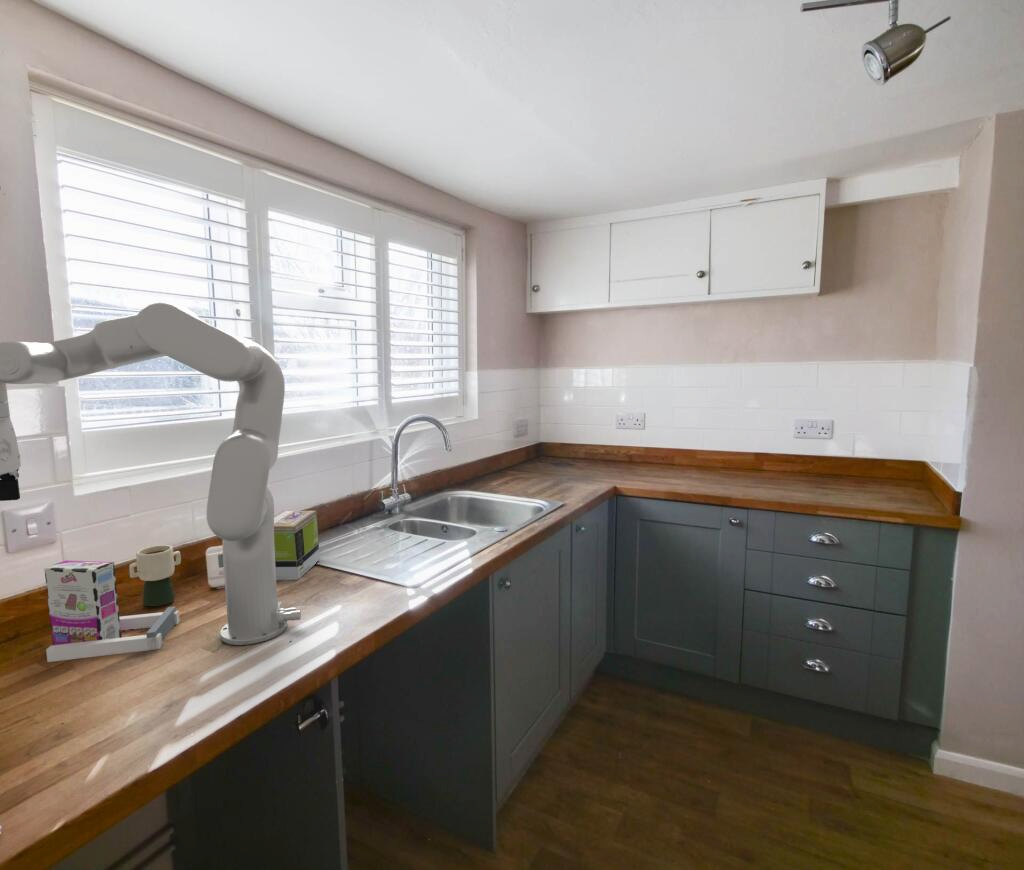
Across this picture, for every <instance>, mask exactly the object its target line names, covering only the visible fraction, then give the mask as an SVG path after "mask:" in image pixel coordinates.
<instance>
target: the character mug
mask: <svg viewBox="0 0 1024 870" xmlns="http://www.w3.org/2000/svg"><path fill="white" fill-rule="evenodd" d="M135 556H136V561H135V562H133V563H130V564H129V566H128V568H129V577H130V578H131V579H135V578H137V577H138V578H139V579H140V580H141V581H145V582H144V584H143V591H142V592H143V593H142V605H143V606H147V607H159V606H164V605H167V604H171V603H172V602H173V601H174V600H175V599H176V595H175V590H174V586H173V583H172V580H171V578H170V577H171V576H173V575H174V573H175V569H176V567H175V566H178V565H180V564H181V563H182V562H181V561H182V558H181V557H182V556H181V552H180V550H177V551H174V547H173V546H172V545H171V544H170V545H168V544H158V545H153V546H151V545H150V546H146V547H144V548H140V549H138V550H137V551H136V555H135ZM174 558H175V559H174ZM135 567H137V570H136V571H137V572H136V571H135Z"/></svg>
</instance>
